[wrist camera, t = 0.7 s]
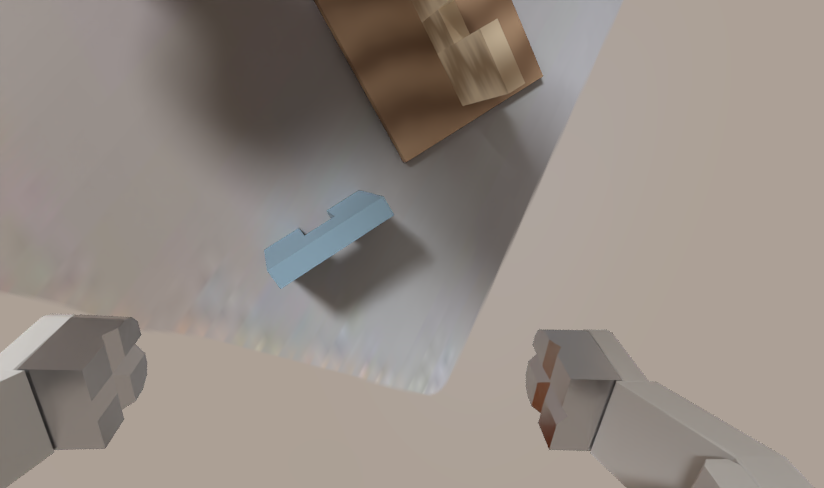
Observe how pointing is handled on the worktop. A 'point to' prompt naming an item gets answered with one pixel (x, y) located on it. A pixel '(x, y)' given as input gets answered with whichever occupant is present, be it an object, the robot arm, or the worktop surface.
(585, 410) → the robot arm
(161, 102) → the worktop surface
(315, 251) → the slotted plate
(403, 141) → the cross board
